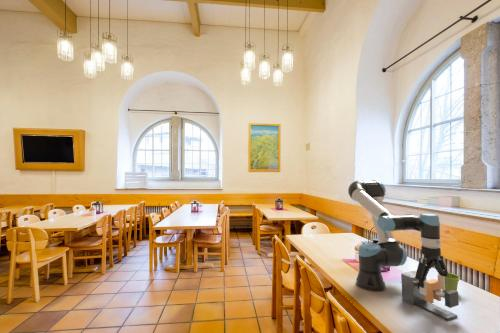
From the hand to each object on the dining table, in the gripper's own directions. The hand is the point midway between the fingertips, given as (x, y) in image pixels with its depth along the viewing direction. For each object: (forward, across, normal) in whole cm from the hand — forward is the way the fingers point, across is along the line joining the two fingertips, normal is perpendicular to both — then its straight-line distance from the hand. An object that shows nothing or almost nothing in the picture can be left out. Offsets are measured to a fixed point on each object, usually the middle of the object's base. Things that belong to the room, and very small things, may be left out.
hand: (432, 291), depth 116 cm
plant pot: (+9, +28, +9) cm, 31 cm away
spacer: (+4, 0, 0) cm, 4 cm away
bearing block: (+9, 0, +2) cm, 9 cm away
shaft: (+3, 0, -2) cm, 3 cm away
